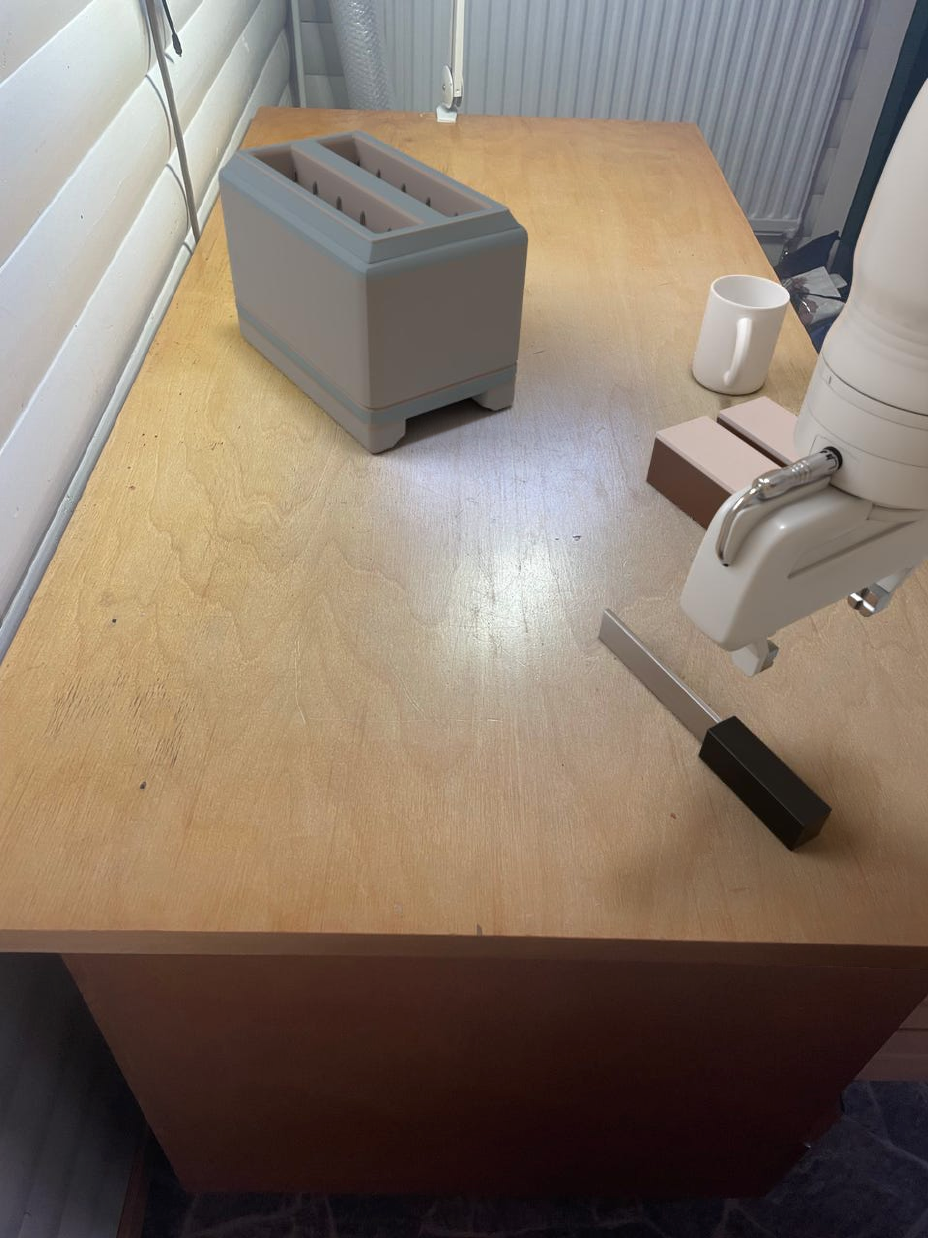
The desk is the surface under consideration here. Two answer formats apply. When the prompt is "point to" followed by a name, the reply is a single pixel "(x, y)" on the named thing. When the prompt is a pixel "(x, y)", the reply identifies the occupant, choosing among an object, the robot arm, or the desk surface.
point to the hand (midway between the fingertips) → (809, 635)
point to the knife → (726, 745)
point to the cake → (721, 455)
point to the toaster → (373, 280)
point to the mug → (739, 333)
